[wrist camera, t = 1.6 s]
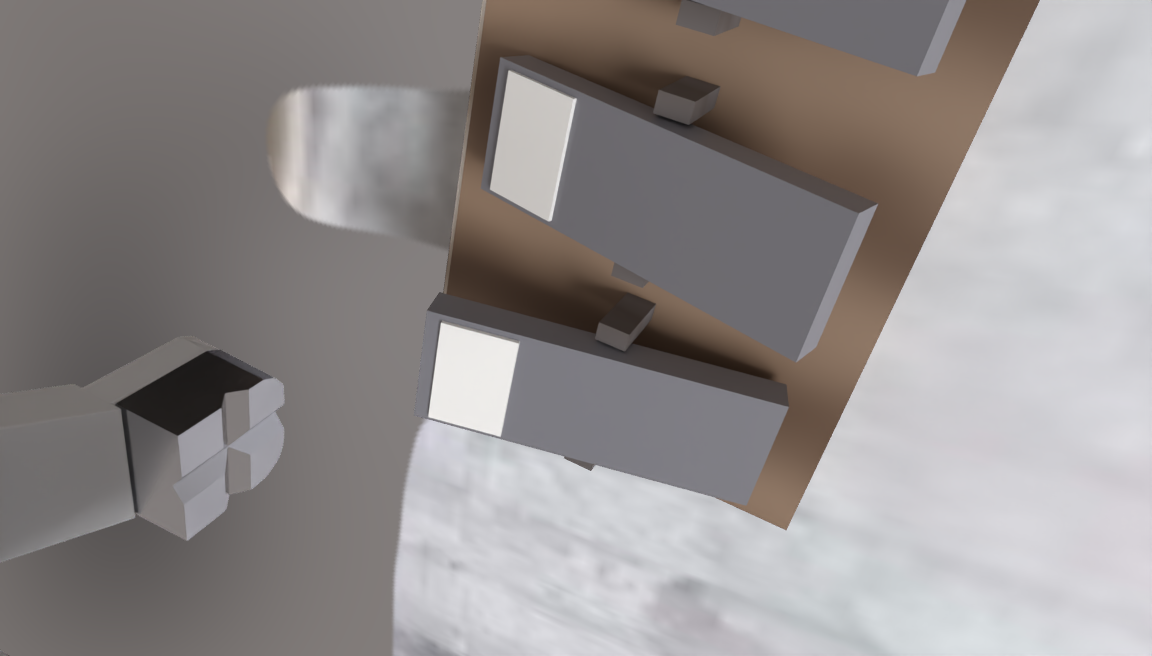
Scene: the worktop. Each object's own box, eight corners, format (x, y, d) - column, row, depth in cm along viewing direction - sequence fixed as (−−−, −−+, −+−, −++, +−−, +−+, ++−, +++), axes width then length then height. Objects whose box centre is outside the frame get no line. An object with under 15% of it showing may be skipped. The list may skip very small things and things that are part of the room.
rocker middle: (816, 347, 20) (793, 364, 19) (507, 181, 25) (477, 189, 24) (878, 203, 18) (856, 214, 17) (528, 55, 23) (496, 57, 22)
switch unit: (802, 480, 29) (771, 577, 25) (466, 332, 33) (388, 394, 29) (1114, -183, 19) (1157, -219, 14) (564, -291, 22) (463, -346, 18)
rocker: (745, 481, 26) (746, 508, 25) (426, 394, 27) (412, 417, 26) (786, 384, 24) (788, 409, 23) (439, 292, 25) (425, 313, 24)
